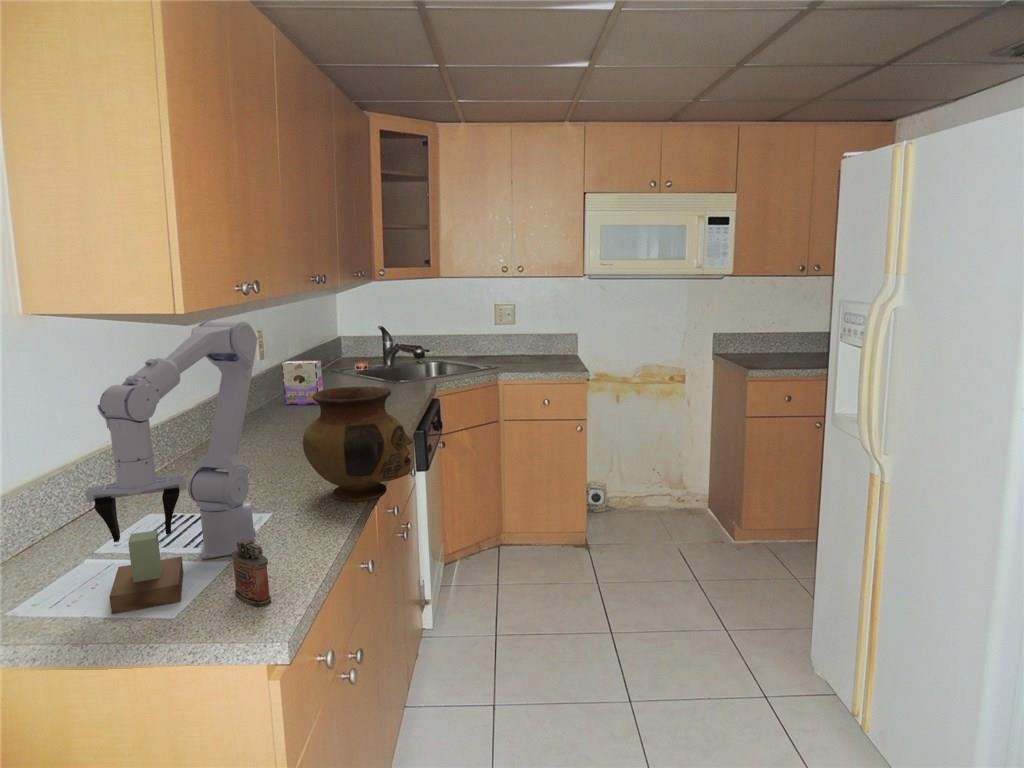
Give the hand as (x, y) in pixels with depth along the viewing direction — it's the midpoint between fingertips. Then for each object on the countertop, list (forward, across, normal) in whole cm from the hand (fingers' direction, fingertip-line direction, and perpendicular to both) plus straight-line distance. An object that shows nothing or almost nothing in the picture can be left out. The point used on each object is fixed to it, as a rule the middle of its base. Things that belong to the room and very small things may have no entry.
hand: (143, 536), depth 118 cm
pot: (+10, +42, +36) cm, 57 cm away
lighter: (+10, +16, -10) cm, 21 cm away
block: (+7, 0, 0) cm, 7 cm away
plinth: (+10, 0, 0) cm, 10 cm away
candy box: (+10, +43, +152) cm, 158 cm away
